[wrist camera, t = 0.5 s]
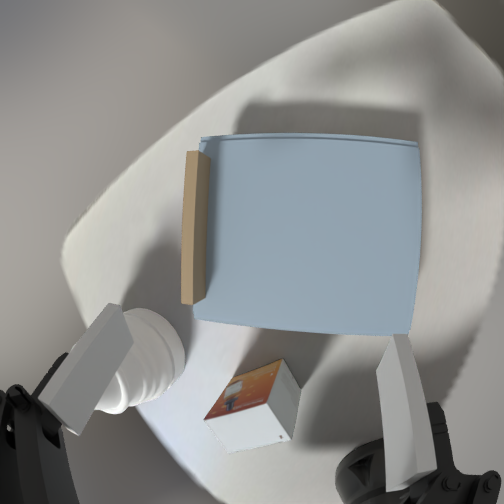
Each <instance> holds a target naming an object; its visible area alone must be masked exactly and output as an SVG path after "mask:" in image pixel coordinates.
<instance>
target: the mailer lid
mask: <svg viewBox="0 0 504 504" xmlns="http://www.w3.org/2000/svg"><path fill="white" fill-rule="evenodd" d="M421 221H422V191H421V166H420V152H419V148H418V142H413V141H406V140H398V139H390V138H381V137H370V136H358V135H343V134H321V133H260V134H237V135H222V136H209V137H201V143H199V150H197V151H187V155H186V168H185V181H184V198H183V218H182V248H181V303H182V304H189V305H193V313H194V319H198V320H204V321H211V322H218V323H226V324H233V325H241V326H250V327H258V328H268V329H277V330H288V331H300V332H313V333H327V334H345V335H370V336H392V334H409V330H410V328H411V323H412V317H413V311H414V304H415V297H416V289H417V281H418V271H419V260H420V246H421Z"/></svg>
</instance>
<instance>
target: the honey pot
mask: <svg viewBox="0 0 504 504" xmlns="http://www.w3.org/2000/svg"><path fill="white" fill-rule="evenodd" d="M123 315H124V317H125V320H126V323H127V325H128V328H129V331H130V333H131V336H132V338H133V341H134V344H133V345H132V347H131V349H130V350H129V352H128V353H127V355H126V357H125V358H124V360H123V361H122V363H121V365H120V366H119V368H118V370H117V371H116V373H115V375H114V376H113V378H112V380H111V381H110V383H109V385H108V387H107V388H106V390H105V392H104V393H103V395H102V397H101V399H100V400H99V402H98V404H97V406H96V407H95V409H94V410H102V411H104V412H106V413H111V414H118V413H122V412H123V411H124V410H126V409H127V407H128V406H135V405H139V404H140V403H143V402H147V401H151V400H155V399H157V398H158V397H160V396H161V395H162V394H164V392H165V391H167V389H169V388H170V387H171V386H172V385H173V384H174V383H175V382H176V381H177V380H178V379H179V378H180V376H181V375H182V373H183V371H184V367H185V351H184V348H183V344H182V341H181V339H180V337H179V336H178V334H177V332H176V330H175V329H174V328H173V327H172V325H171V324H170V323H169V322H168V321H167V320H166V319H165V318H163V317H162V316H161V315H160V314H158V313H156V312H154V311H152V310H149V309H144V308H135V309H131V310H128V311H125V312H123ZM76 344H77V343H75V344H74V346H75V345H76ZM74 346H73V347H72V349H73V348H74ZM72 349H71V350H72Z"/></svg>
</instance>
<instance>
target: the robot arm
mask: <svg viewBox="0 0 504 504" xmlns="http://www.w3.org/2000/svg"><path fill="white" fill-rule="evenodd" d="M133 344H134V341H133V338H132V336H131V333H130V331H129V328H128V325H127V323H126V320H125V317H124V315H123V312H122V309H121V306H120V305H116V304H111V303H108V305H107V306H106V307H105V308H104V309H103V311H102V312H101V313H100V314H99V316H98V317H97V318H96V319H95V321H94V322H93V323H92V324H91V326H90V327H89V328H88V329H87V331H86V332H85V333H84V335H83V336H82V337H81V338H80V340H79V341H78V342H77V344H76V345H75V346H74V348H73V349H72V350H71V352H70V353H64V354H63V355H61V356H60V357H59V358H58V359H57V360H56V361H55V363H54V364H53V365H52V367H51V368H50V369H49V371H48V373H47V374H46V375H45V376H44V378H43V380H42V381H41V382H40V384H39V385H38V386H37V388H36V389H35V391H34V392H33V393H32V395H31V396H30V395H29V393H28V392H27V391H26V390H25V389H24V388H23V386H21V385H19V384H18V385H16V384H15V385H13V386H11V387H10V388H9V389H8V390H7V392H6V394H5V393H4V392H3V391H2V390H0V504H79V500H78V497H77V494H76V490H75V487H74V483H73V480H72V476H71V472H70V468H69V463H68V458H67V454H66V448H65V443H64V438H63V432H62V429H61V425H62V424H63V425H64V426H65V427H66V428H67V429H68V430H69V431H71V432H73V433H75V434H76V435H78V436H80V434H81V432H82V431H83V429H84V427H85V425H86V423H87V422H88V420H89V418H90V416H91V414H92V413H93V411H94V409H95V407H96V406H97V404H98V402H99V400H100V399H101V397H102V395H103V393H104V392H105V390H106V388H107V387H108V385H109V383H110V381H111V380H112V378H113V376H114V375H115V373H116V371H117V370H118V368H119V366H120V365H121V363H122V361H123V360H124V358H125V357H126V355H127V353H128V352H129V350H130V349H131V347H132V345H133ZM376 375H377V382H378V389H379V397H380V405H381V414H382V424H383V435H384V439H380V440H377V441H374V442H371V443H368V444H366V445H364V446H362V447H360V448H358V449H356V450H354V451H353V452H351V453H350V454H349V455H347V456H346V457H345V458H344V459H343V460H342V461H341V463H340V464H339V466H338V467H337V470H336V476H335V485H336V489H337V491H338V493H339V495H340V497H341V499H342V501H343V503H344V504H496V502H497V499H498V495H499V491H500V487H501V477H500V475H499V474H498V472H496V471H494V470H493V471H488V472H486V473H484V474H483V475H466V474H462V473H461V472H460V471H459V470H457V469H456V467H455V466H454V462H453V457H452V450H451V445H450V439H449V434H448V429H447V425H446V419H445V415H444V411H443V410H442V408H441V407H440V405H439V404H438V402H433V403H426V401H425V396H424V392H423V388H422V384H421V380H420V376H419V372H418V368H417V365H416V361H415V357H414V354H413V351H412V347H411V344H410V341H409V337H408V334H392V336H391V339H390V341H389V344H388V346H387V348H386V350H385V353H384V355H383V357H382V359H381V361H380V364H379V366H378V368H377V370H376ZM7 425H9V426H10V427H11V430H10V431H8V430H7Z"/></svg>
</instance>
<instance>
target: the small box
mask: <svg viewBox="0 0 504 504" xmlns="http://www.w3.org/2000/svg"><path fill="white" fill-rule="evenodd" d="M300 396H301V389H300V387H299V386H298V384H297V382H296V380H295V379H294V377H293V375H292V373H291V371H290V370H289V368H288V366H287V364H286V363H285V361H284V359H280V360H278V361H275V362H273V363H271V364H268V365H266V366H263V367H261V368H258V369H255V370H252V371H250V372H247V373H244V374H241V375H238V376H236V377H233V378H232V379H231V380H230V382H229V384H228V385H227V386H226V388H225V389H224V391H223V392H222V394H221V395H220V397H219V398H218V400H217V401H216V403H215V404H214V405H213V407H212V408H211V410H210V411H209V413H208V414H207V415H206V417H205V418H204V422H205V423H206V425H207V426H208V427H209V429H210V430H211V432H212V433H213V434H214V436H215V437H216V438H217V440H218V441H219V442H220V444H221V445H222V446H223V448H224V449H225V450H226V451H227V453H228V454H231V453H235V452H240V451H245V450H249V449H254V448H259V447H263V446H268V445H272V444H276V443H280V442H286V441H290V440H292V437H293V432H294V428H295V423H296V417H297V412H298V406H299V401H300Z"/></svg>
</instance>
